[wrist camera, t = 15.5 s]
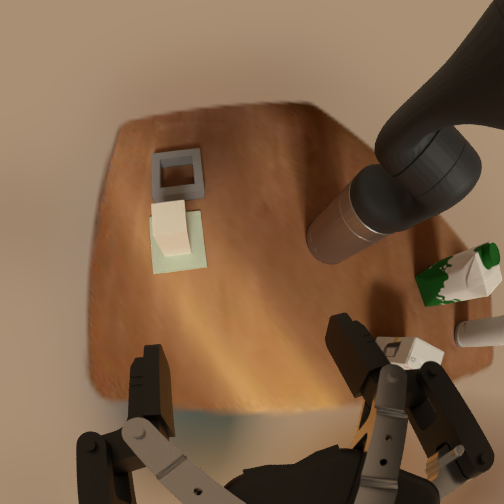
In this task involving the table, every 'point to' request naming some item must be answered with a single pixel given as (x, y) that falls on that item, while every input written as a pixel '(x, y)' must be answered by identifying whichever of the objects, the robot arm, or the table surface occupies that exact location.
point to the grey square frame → (183, 190)
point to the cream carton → (171, 227)
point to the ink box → (409, 351)
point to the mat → (185, 260)
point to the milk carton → (461, 276)
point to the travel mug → (480, 332)
